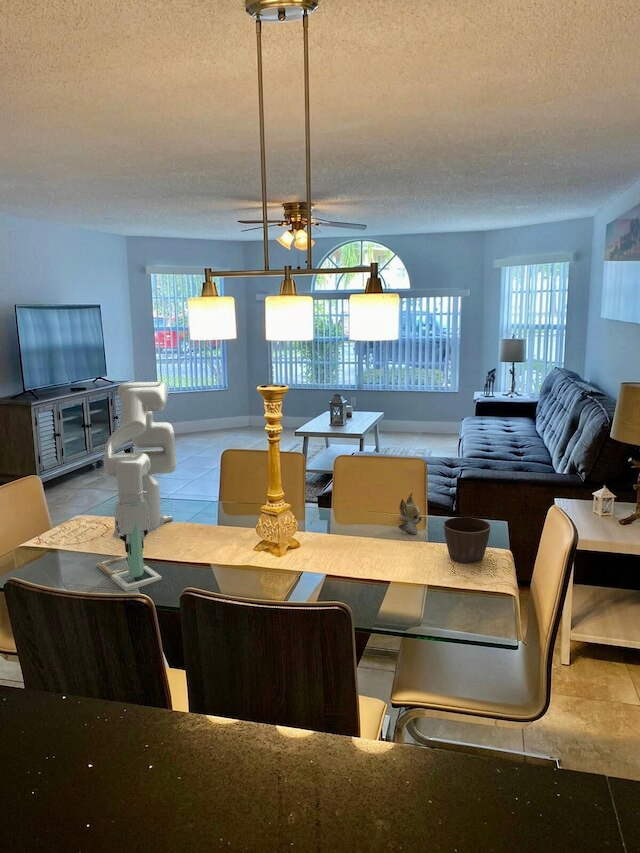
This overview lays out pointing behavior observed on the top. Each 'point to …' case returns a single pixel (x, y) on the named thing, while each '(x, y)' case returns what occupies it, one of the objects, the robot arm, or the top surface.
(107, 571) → the stand
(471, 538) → the plant pot
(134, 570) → the container
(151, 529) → the robot arm
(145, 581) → the stand
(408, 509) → the ceramic sculpture
